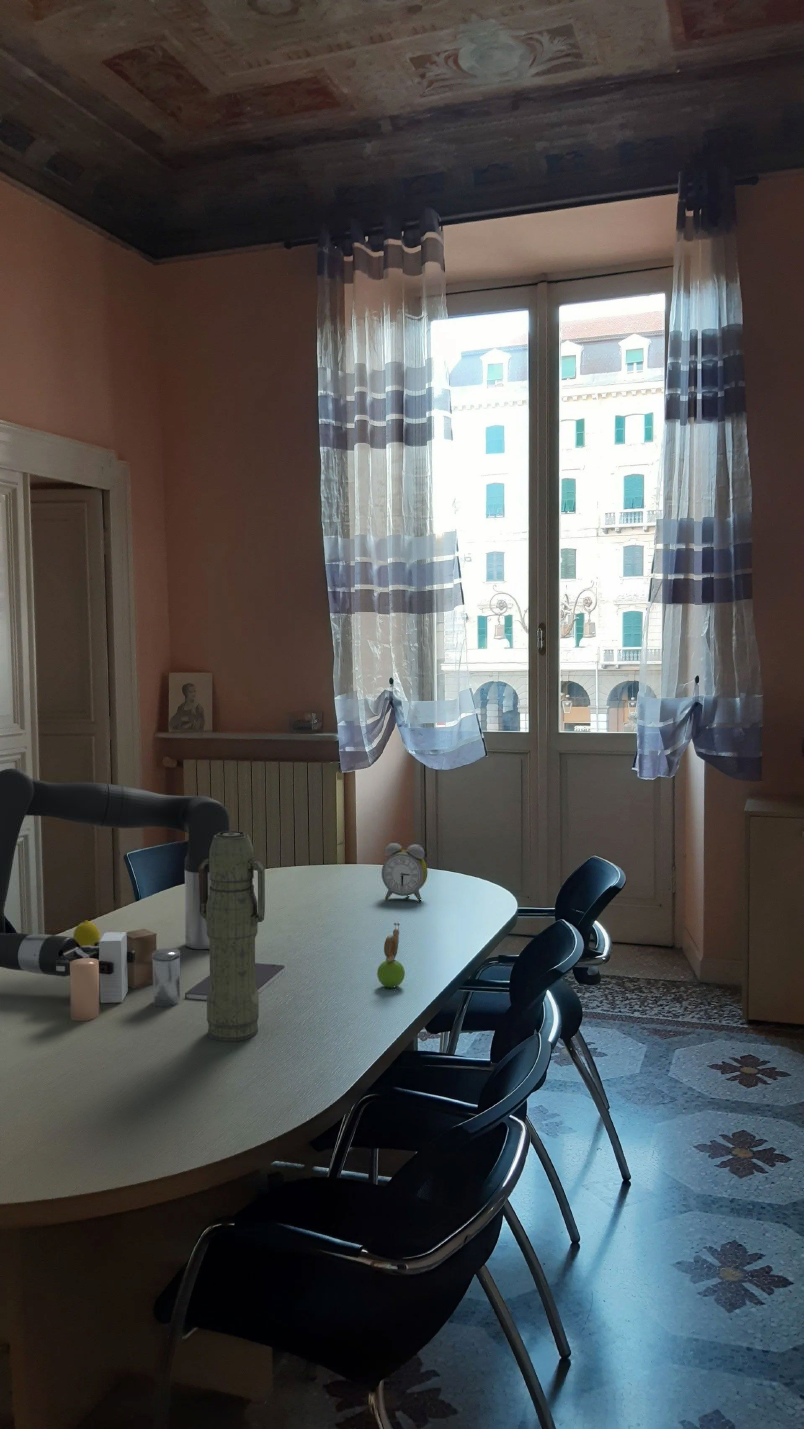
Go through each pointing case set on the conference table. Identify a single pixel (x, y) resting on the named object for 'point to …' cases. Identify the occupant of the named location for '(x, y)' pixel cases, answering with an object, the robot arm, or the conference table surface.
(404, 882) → the alarm clock
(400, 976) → the snail figurine
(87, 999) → the peach rounded cylinder
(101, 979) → the skincare box
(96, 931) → the lemon
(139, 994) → the conference table surface
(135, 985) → the walnut block
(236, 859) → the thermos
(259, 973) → the notebook
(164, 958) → the grey tin
